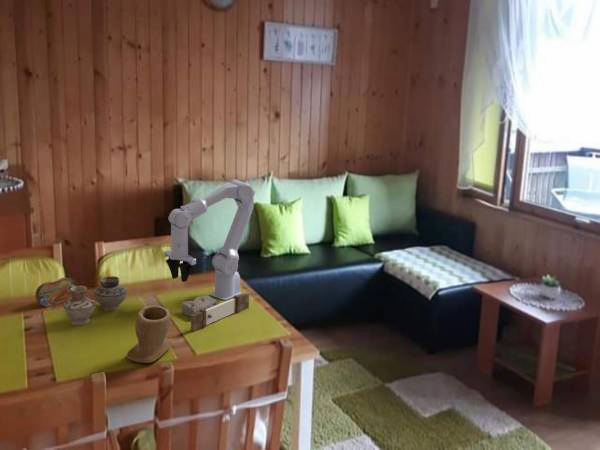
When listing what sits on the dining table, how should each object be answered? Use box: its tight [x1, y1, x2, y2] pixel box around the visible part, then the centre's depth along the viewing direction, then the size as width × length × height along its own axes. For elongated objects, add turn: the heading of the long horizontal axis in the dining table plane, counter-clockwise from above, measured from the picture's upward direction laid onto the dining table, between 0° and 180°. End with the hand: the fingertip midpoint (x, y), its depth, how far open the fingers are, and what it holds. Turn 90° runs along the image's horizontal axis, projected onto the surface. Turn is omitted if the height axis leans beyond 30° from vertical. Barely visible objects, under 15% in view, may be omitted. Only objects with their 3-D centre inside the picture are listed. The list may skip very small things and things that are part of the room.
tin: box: [35, 277, 78, 308], centre depth 212 cm, size 15×3×8 cm, turn 143°
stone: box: [181, 295, 219, 318], centre depth 210 cm, size 13×6×10 cm
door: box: [206, 297, 236, 326], centre depth 204 cm, size 15×2×5 cm, turn 144°
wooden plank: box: [190, 292, 250, 332], centre depth 205 cm, size 27×2×6 cm, turn 144°
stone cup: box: [126, 305, 174, 364], centre depth 177 cm, size 15×12×15 cm
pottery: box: [62, 275, 128, 326], centre depth 203 cm, size 11×25×12 cm, turn 156°
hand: (179, 279), depth 214 cm, fingers open, 4 cm apart
